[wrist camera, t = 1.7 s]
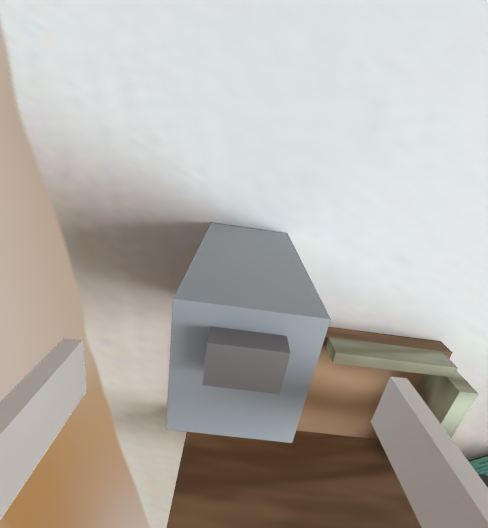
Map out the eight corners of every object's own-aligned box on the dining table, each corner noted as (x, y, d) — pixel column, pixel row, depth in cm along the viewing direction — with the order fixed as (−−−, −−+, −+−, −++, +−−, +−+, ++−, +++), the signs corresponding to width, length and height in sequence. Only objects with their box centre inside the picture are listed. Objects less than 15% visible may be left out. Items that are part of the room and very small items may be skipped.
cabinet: (211, 222, 21) (165, 313, 9) (287, 233, 22) (338, 335, 10) (203, 300, 24) (159, 450, 12) (271, 309, 24) (295, 465, 12)
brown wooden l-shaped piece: (202, 310, 24) (172, 416, 15) (441, 341, 25) (562, 459, 16) (191, 416, 29) (164, 548, 19) (392, 438, 30) (461, 574, 20)
